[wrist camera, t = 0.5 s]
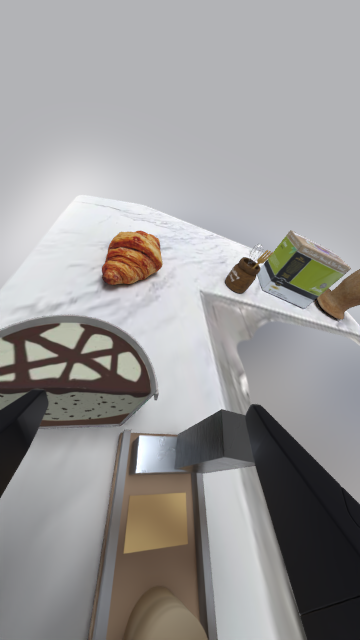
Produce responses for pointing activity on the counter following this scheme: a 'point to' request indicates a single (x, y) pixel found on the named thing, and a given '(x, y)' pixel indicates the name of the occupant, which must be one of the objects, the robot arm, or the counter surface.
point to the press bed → (152, 546)
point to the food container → (76, 370)
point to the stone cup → (342, 296)
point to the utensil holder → (244, 273)
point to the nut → (162, 618)
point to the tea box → (300, 270)
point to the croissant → (131, 258)
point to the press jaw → (195, 448)
